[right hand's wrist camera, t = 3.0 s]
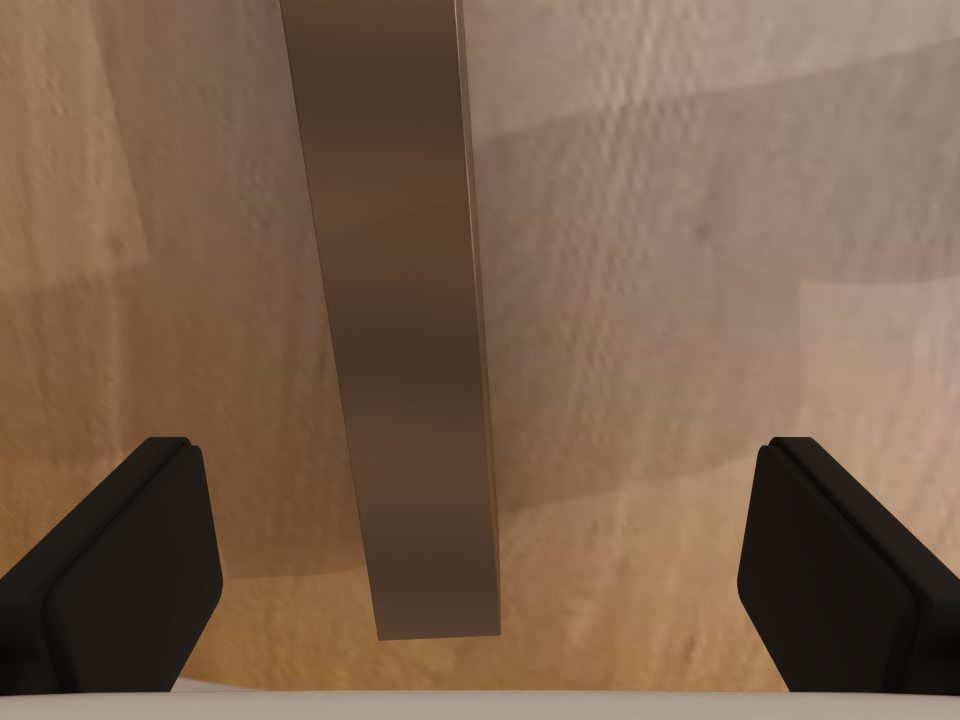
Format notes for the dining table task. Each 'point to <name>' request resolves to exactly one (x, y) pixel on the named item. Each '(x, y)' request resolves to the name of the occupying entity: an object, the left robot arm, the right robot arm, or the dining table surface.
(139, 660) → the right robot arm
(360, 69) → the bar
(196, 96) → the dining table surface
